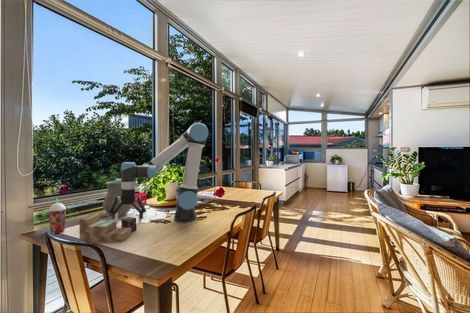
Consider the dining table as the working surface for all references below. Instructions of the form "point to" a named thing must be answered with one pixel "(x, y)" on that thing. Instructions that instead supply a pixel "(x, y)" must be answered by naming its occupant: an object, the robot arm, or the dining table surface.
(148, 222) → the dining table surface
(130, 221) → the box
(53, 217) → the smoothie
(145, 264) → the dining table surface
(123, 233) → the stepped block
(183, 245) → the dining table surface
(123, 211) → the vase
